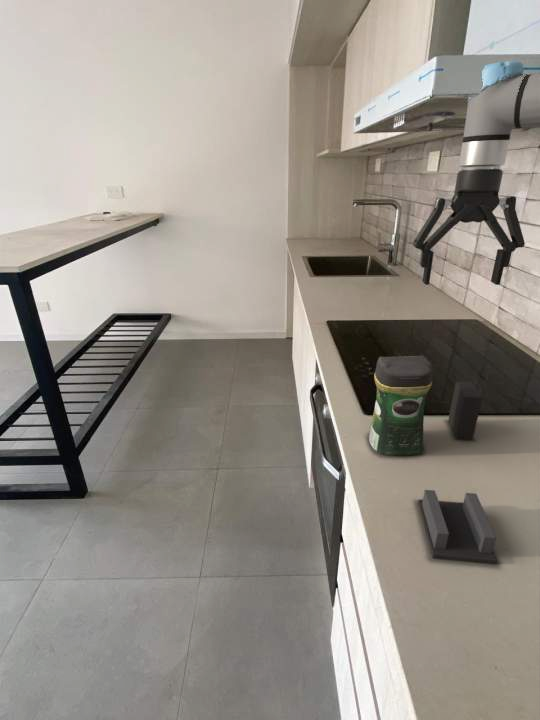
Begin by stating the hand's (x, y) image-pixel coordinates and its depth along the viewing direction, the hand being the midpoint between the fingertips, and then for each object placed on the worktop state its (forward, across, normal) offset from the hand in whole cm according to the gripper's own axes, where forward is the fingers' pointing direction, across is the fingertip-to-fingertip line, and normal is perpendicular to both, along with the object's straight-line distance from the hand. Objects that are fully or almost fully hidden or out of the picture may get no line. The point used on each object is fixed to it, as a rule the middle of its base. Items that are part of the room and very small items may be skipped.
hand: (460, 283), depth 81 cm
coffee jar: (+27, +14, +20) cm, 36 cm away
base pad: (+26, +8, +40) cm, 49 cm away
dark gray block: (+26, 0, +15) cm, 30 cm away
